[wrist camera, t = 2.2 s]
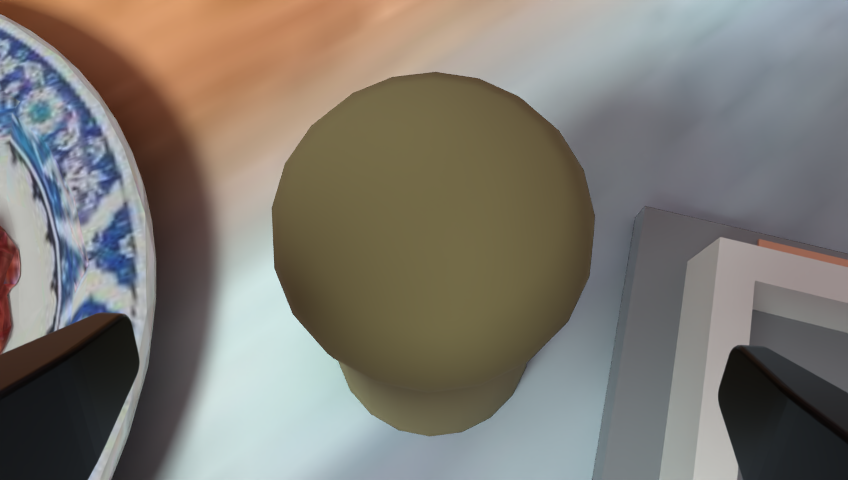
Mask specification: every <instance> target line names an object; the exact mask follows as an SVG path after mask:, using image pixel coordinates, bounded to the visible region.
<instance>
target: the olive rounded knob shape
mask: <svg viewBox="0 0 848 480" xmlns="http://www.w3.org/2000/svg"><path fill="white" fill-rule="evenodd" d="M594 220H595V215H594V211H593V207H592V203H591V198H590V194H589V190H588V186H587V182H586V178H585V174H584V170H583V168H582V167H581V165H580V163H579V162H578V160H577V159H576V157H575V155H574V154H573V152H572V151H571V149H570V147H569V146H568V144H567V143H566V141H565V139H564V138H563V136H562V135H561V133H560V131H559V130H557V129H556V128H555V127H554V126H553V125H552V124H550V123H549V122H548V121H547V120H546V119H545V118H543V117H542V116H541V115H540V114H539V113H538V112H536V111H535V110H534V109H533V108H532V107H531V106H529V105H528V104H527V103H526V102H525V101H524V100H522V99H521V98H520V97H518V96H516V95H514V94H512V93H510V92H507V91H505V90H503V89H501V88H499V87H496V86H494V85H492V84H490V83H487V82H485V81H483V80H481V79H478V78H472V77H465V76H459V75H452V74H445V73H439V72H432V73H423V74H415V75H406V76H397V77H392V78H389V79H387V80H384V81H382V82H379V83H377V84H374V85H372V86H369V87H367V88H364V89H362V90H360V91H357V92H355V93H352V94H351V95H350V96H349V97H347V98H346V99H345V100H344V101H342V102H341V103H340V104H338V105H337V106H336V107H335V108H333V109H332V110H331V111H330V112H328V113H327V114H326V115H324V116H323V117H322V118H321V119H319V120H318V121H317V122H316V123H314V124H313V125H312V126H311V127H310V129H309V130H308V131H307V133H306V134H305V136H304V137H303V139H302V140H301V141H300V143H299V144H298V146H297V147H296V149H295V150H294V152H293V153H292V154H291V156H290V157H289V159H288V160H287V162H286V163H285V166H284V169H283V172H282V176H281V179H280V182H279V186H278V189H277V193H276V196H275V199H274V203H273V206H272V223H273V246H274V268H275V271H276V273H277V276H278V278H279V281H280V283H281V286H282V288H283V291H284V293H285V296H286V298H287V301H288V303H289V306H290V308H291V311H292V313H293V315H294V316H295V317H296V318H297V319H298V320H299V322H300V323H301V324H302V325H303V326H304V327H305V328H306V330H307V331H308V332H309V333H310V334H311V335H312V336H313V338H314V339H315V340H316V341H317V342H318V343H319V344H320V345H321V347H322V348H323V349H324V350H325V351H326V352H327V353H328V354H329V355H330V356H332V357H333V358H334V359H336V360H338V362H339V364H340V367H341V369H342V371H343V374H344V376H345V379H346V381H347V383H348V386H349V388H350V391H351V392H352V393H353V394H354V395H355V396H356V397H357V399H358V400H359V401H360V402H361V403H362V404H363V405H364V407H365V408H366V409H367V410H368V411H369V412H370V413H371V414H372V415H374V416H375V417H377V418H379V419H380V420H382V421H384V422H386V423H387V424H389V425H391V426H393V427H394V428H396V429H398V430H401V431H406V432H411V433H416V434H421V435H426V436H436V435H443V434H451V433H458V432H463V431H465V430H467V429H469V428H471V427H473V426H475V425H477V424H479V423H481V422H483V421H485V420H487V419H489V418H490V417H491V416H492V415H493V414H494V413H495V412H496V411H497V410H498V409H499V408H500V407H501V406H502V405H503V404H504V403H505V402H506V401H507V400H508V399H509V398H510V397H511V396H512V395H513V393H514V391H515V389H516V387H517V385H518V382H519V380H520V378H521V376H522V374H523V372H524V370H525V368H526V362H528V361H529V360H530V359H531V358H532V357H533V356H534V355H535V354H536V353H537V352H538V351H539V350H540V349H541V348H542V347H543V346H544V345H545V344H546V343H547V342H548V341H549V340H550V339H551V338H552V337H553V336H554V335H555V334H556V333H557V332H558V331H559V330H560V329H561V328H562V327H563V326H564V325H565V324H566V323H567V322H568V320H569V318H570V316H571V314H572V312H573V310H574V308H575V306H576V303H577V301H578V299H579V297H580V295H581V293H582V291H583V289H584V287H585V285H586V282H587V280H588V278H589V275H590V265H591V255H592V245H593V235H594Z"/></svg>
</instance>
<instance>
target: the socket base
mask: <svg viewBox="0 0 848 480" xmlns="http://www.w3.org/2000/svg"><path fill="white" fill-rule="evenodd" d="M737 345H754V346H764V347H767V348H769V349H771V350H773V351H774V352H776V353H778V354H780V355H781V356H783V357H785V358H787V359H789V360H790V361H792V362H794V363H796V364H798V365H799V366H801V367H803V368H805V369H807V370H808V371H810V372H812V373H814V374H815V375H817V376H819V377H821V378H823V379H824V380H826V381H828V382H830V383H832V384H833V385H835V386H837V387H839V388H840V389H842V390H844V391H846V392H848V254H847V253H842V252H838V251H834V250H830V249H825V248H821V247H817V246H813V245H808V244H804V243H800V242H796V241H791V240H787V239H783V238H779V237H774V236H770V235H766V234H762V233H757V232H753V231H749V230H745V229H740V228H736V227H732V226H728V225H723V224H719V223H715V222H711V221H707V220H702V219H698V218H694V217H690V216H685V215H681V214H677V213H673V212H668V211H664V210H660V209H656V208H651V207H647V206H645V207H644V208H643V209H642V211H641V212H640V213H639V214H638V215H637V216H636V217H635V222H634V228H633V234H632V240H631V247H630V253H629V259H628V265H627V271H626V277H625V283H624V289H623V295H622V301H621V307H620V313H619V319H618V326H617V332H616V338H615V344H614V350H613V356H612V362H611V368H610V374H609V380H608V386H607V392H606V399H605V405H604V411H603V417H602V423H601V429H600V435H599V441H598V447H597V453H596V459H595V465H594V471H593V478H592V480H743V479H742V476H741V473H740V470H739V467H738V463H737V460H736V457H735V454H734V451H733V448H732V445H731V442H730V438H729V435H728V432H727V429H726V426H725V423H724V420H723V416H722V413H721V410H720V407H719V402H718V390H719V386H720V382H721V379H722V376H723V373H724V369H725V366H726V363H727V360H728V356H729V354H730V351H731V350H732V348H733V347H735V346H737Z"/></svg>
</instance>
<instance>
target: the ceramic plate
mask: <svg viewBox="0 0 848 480" xmlns="http://www.w3.org/2000/svg"><path fill="white" fill-rule="evenodd" d="M155 305H156V253H155V244H154V234H153V225H152V219H151V214H150V209H149V205H148V200H147V196H146V191H145V187H144V184H143V181H142V178H141V175H140V172H139V169H138V166H137V164H136V161H135V158H134V155H133V153H132V150H131V148H130V146H129V144H128V142H127V140H126V138H125V136H124V134H123V132H122V130H121V128H120V126H119V124H118V122H117V120H116V119H115V117H114V116H113V114H112V113H111V111H110V110H109V108H108V107H107V105H106V104H105V102H104V101H103V99H102V97H101V96H100V94H99V93H98V92H97V91H96V89H95V88H94V87H93V86H92V85H91V84H90V82H89V81H88V80H87V79H86V78H85V77H84V75H83V74H82V73H81V72H80V71H79V70H78V69H77V68H76V67H75V66H74V65H73V64H72V63H71V62H70V61H69V60H68V59H67V58H65V57H64V56H63V55H62V54H61V53H60V52H59V51H58V50H57V49H56V48H54V47H53V46H51V45H50V44H49V43H47V42H46V41H44V40H43V39H42V38H40V37H39V36H38V35H36V34H35V33H33V32H32V31H31V30H29V29H27V28H25V27H23V26H22V25H20V24H18V23H16V22H14V21H13V20H11V19H9V18H7V17H5V16H4V15H1V14H0V354H2V353H5V352H7V351H9V350H12V349H14V348H16V347H19V346H21V345H23V344H26V343H28V342H30V341H33V340H35V339H37V338H40V337H42V336H44V335H47V334H49V333H51V332H54V331H56V330H59V329H61V328H63V327H66V326H68V325H70V324H73V323H75V322H77V321H80V320H82V319H84V318H87V317H89V316H91V315H94V314H96V313H101V312H106V313H123V314H126V315H127V316H128V317H129V318H130V320H131V322H132V326H133V330H134V335H135V339H136V344H137V348H138V353H139V358H140V365H139V371H138V374H137V377H136V379H135V381H134V383H133V386H132V388H131V390H130V392H129V394H128V397H127V399H126V401H125V403H124V406H123V408H122V410H121V412H120V415H119V417H118V419H117V421H116V424H115V426H114V428H113V430H112V432H111V435H110V437H109V439H108V441H107V444H106V446H105V448H104V450H103V452H102V454H101V456H100V458H99V460H98V462H97V464H96V466H95V468H94V470H93V471H92V473H91V475H90V477H89V479H88V480H111V479H112V477H113V474H114V472H115V469H116V466H117V464H118V461H119V459H120V456H121V454H122V451H123V449H124V446H125V444H126V441H127V438H128V436H129V433H130V429H131V425H132V422H133V418H134V415H135V411H136V408H137V404H138V400H139V397H140V393H141V390H142V386H143V383H144V379H145V376H146V372H147V368H148V363H149V355H150V347H151V338H152V330H153V322H154V313H155Z"/></svg>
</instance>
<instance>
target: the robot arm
mask: <svg viewBox="0 0 848 480" xmlns="http://www.w3.org/2000/svg"><path fill="white" fill-rule="evenodd" d="M139 365H140V358H139V353H138V348H137V344H136V339H135V335H134V330H133V326H132V322H131V320H130V318H129V317H128V316H127V315H126V314H123V313H106V312H101V313H96V314H94V315H91V316H89V317H87V318H84V319H82V320H80V321H77V322H75V323H73V324H70V325H68V326H66V327H63V328H61V329H59V330H56V331H54V332H51V333H49V334H47V335H44V336H42V337H40V338H37V339H35V340H33V341H30V342H28V343H26V344H23V345H21V346H19V347H16V348H14V349H12V350H9V351H7V352H5V353H2V354H0V480H88V479H89V477H90V475H91V473H92V471H93V470H94V468H95V466H96V464H97V462H98V460H99V458H100V456H101V454H102V452H103V450H104V448H105V446H106V444H107V441H108V439H109V437H110V435H111V432H112V430H113V428H114V426H115V424H116V421H117V419H118V417H119V415H120V412H121V410H122V408H123V406H124V403H125V401H126V399H127V397H128V394H129V392H130V390H131V388H132V386H133V383H134V381H135V379H136V377H137V374H138V371H139ZM718 402H719V407H720V410H721V413H722V416H723V420H724V423H725V426H726V429H727V432H728V435H729V438H730V442H731V445H732V448H733V451H734V454H735V457H736V460H737V463H738V467H739V470H740V473H741V476H742V479H743V480H848V392H846V391H844V390H842V389H840V388H839V387H837V386H835V385H833V384H832V383H830V382H828V381H826V380H824V379H823V378H821V377H819V376H817V375H815V374H814V373H812V372H810V371H808V370H807V369H805V368H803V367H801V366H799V365H798V364H796V363H794V362H792V361H790V360H789V359H787V358H785V357H783V356H781V355H780V354H778V353H776V352H774V351H773V350H771V349H769V348H767V347H764V346H754V345H737V346H735V347H733V348H732V350H731V351H730V354H729V356H728V360H727V363H726V366H725V369H724V373H723V376H722V379H721V382H720V386H719V390H718Z"/></svg>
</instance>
